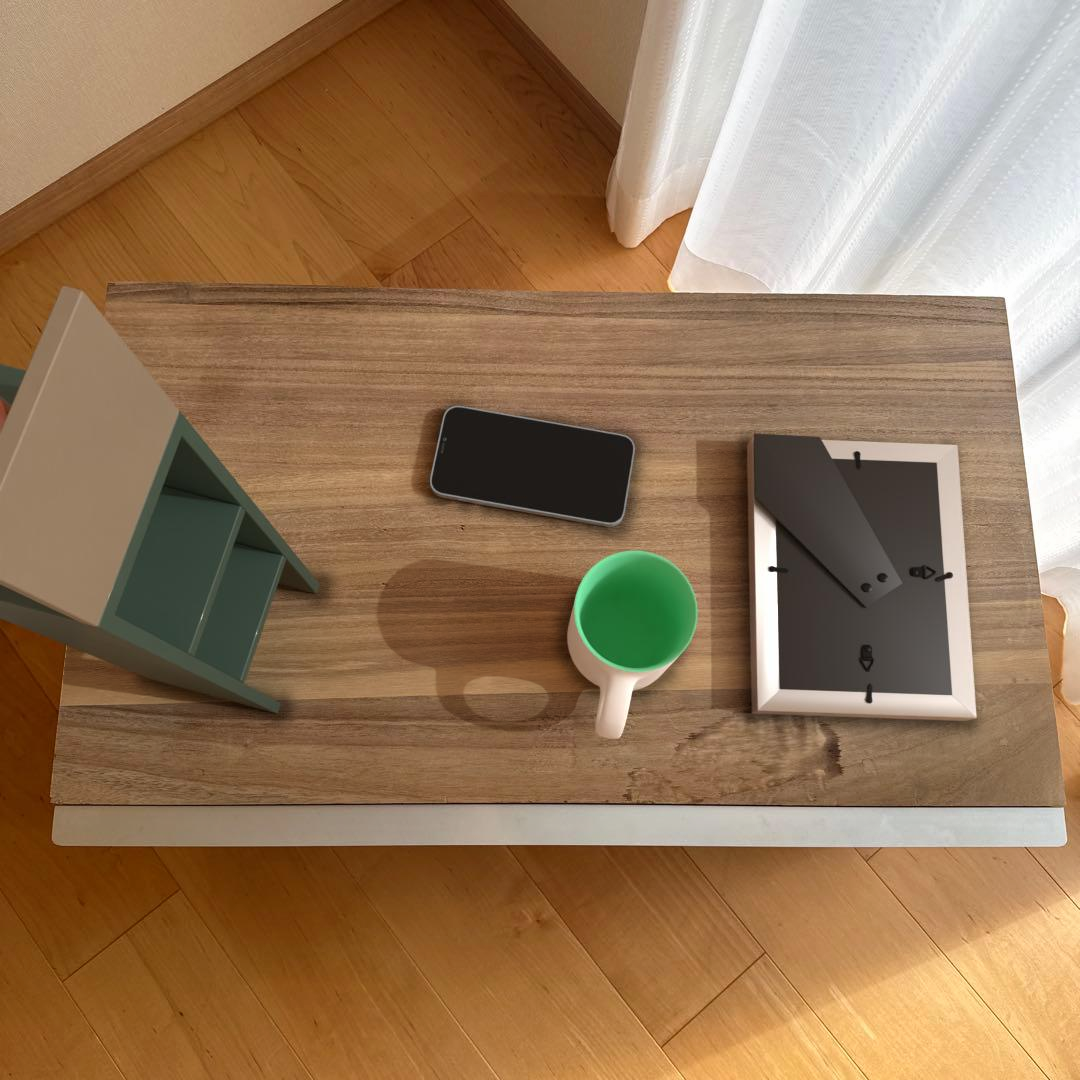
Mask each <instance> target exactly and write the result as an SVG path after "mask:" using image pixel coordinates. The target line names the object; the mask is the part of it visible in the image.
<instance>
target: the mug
mask: <svg viewBox="0 0 1080 1080" xmlns="http://www.w3.org/2000/svg"><path fill="white" fill-rule="evenodd" d="M698 614H699V613H698V601H697V598H696V594H695V591H694V588H693V587H692V584H691V582H690V581H689V579H688V578H687V576H686V575H685V574H684V573H683V572H682V570H681V569H680V568H679V567H678V566H676V564H674V563H673V562H671V561H670V560H668V559H667V558H665V557H663V556H661V555H659V554H656V553H653V552H649V551H644V550H625V551H619V552H616V553H613V554H610V555H608V556H606V557H603V558H602V559H600V561H597V563H595V564H594V565H593V566H592V567H591V568H590V569H589V570H588V571H587V572H586V574H585V575H584V576H583V578H582V580H581V581H580V584H579V586H578V588H577V591H576V594H575V598H574V602H573V605H572V609H571V614H570V617H569V622H568V627H567V632H566V633H567V634H566V639H567V640H566V641H567V648H568V652H569V655H570V657H571V660H572V662H573V664H574V666H575V667H576V669H577V670H578V672H580V674H581V675H582V676H583V677H584V678H586V679H587V680H588V681H589V682H591V683H592V684H593V685H596V686H597V687H599V700H598V705H597V711H596V718H595V724H594V732H595V734H596V735H597V736H599V737H601V738H605V739H609V740H617V739H620V738H621V737H622V735H623V732H624V729H625V726H626V722H627V718H628V714H629V709H630V705H631V700H632V694H633V691H637V690H640V689H644V688H645V687H648V686H649V685H651V684H653V683H654V682H656V681H657V680H658V679H659V678H660V677H661V676H662V675H663V674H664V673H665V672H666V670H667V669H668V668H669V667H670V666H671V665H673V663H674V662H675V661H676V660H677V659H678V658H679V657H680V656H681V655H682V654H683V653H684V651H685V650H686V649H687V647H689V644H690V643H691V642H692V639H693V637H694V635H695V632H696V628H697V624H698Z"/></svg>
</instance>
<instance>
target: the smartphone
mask: <svg viewBox="0 0 1080 1080" xmlns="http://www.w3.org/2000/svg"><path fill="white" fill-rule="evenodd" d="M437 439H438V440H437V444H436V449H435V454H434V458H433V463H432V468H431V472H430V477H429V483H430V484H429V485H430V488H431V491H432V492H433V494H434V495H435V496H437V497H440V498H444V499H449V500H454V501H460V502H465V503H471V504H475V505H483V506H487V507H493V508H499V509H505V510H511V511H517V512H521V513H528V514H533V515H537V516H538V515H539V516H543V517H544V516H545V517H550V518H555V519H561V520H567V521H572V522H578V523H584V524H589V525H594V526H600V527H605V528H606V527H607V528H611V527H613V528H614V527H615V526H618V525H619V524H620V523H622V520H623V518H624V516H625V512H626V507H627V503H628V502H627V500H628V495H629V489H630V482H631V478H632V477H631V476H632V472H633V465H634V464H633V463H634V458H635V452H636V446H635V443H634V441H633V440H632V439H631V437H629V436H627V435H626V434H622V433H616V432H612V431H604V430H599V429H594V428H590V427H589V428H588V427H582V426H577V425H572V424H565V423H561V422H560V423H559V422H554V421H549V420H542V419H537V418H532V417H526V416H521V415H514V414H509V413H503V412H497V411H492V410H487V409H486V410H485V409H480V408H475V407H469V406H464V405H454V406H451V407H449V408H448V409H446V411H445V412H444V414H443V417H442V421H441V426H440V429H439V435H438V438H437Z"/></svg>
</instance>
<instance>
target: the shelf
mask: <svg viewBox="0 0 1080 1080" xmlns="http://www.w3.org/2000/svg"><path fill="white" fill-rule="evenodd" d="M27 365H28V366H27V368H26V369H22V368H18V367H14V366H10V365H6V364H2V363H0V395H1V396H2V397H3V398H5V399H6V400H7V401H8V402H9V403H11V404H12V406H11V408H10V410H9V413H8V415H7V417H6V420H5V422H4V425H3V427H2V429H1V432H0V619H1V620H4V621H6V622H9V623H11V624H13V625H16V626H18V627H21V628H23V629H26V630H29V631H31V632H32V633H36V634H38V635H40V636H43V637H46V638H48V639H50V640H53V641H55V642H58V643H60V644H63V645H64V646H67V647H69V648H72V649H75V650H77V651H79V652H82V653H83V654H87V655H90V656H92V657H94V658H97V659H99V660H101V661H103V662H107V663H109V664H112V665H114V666H117V667H118V668H121V669H124V670H126V671H129V672H131V673H134V674H136V675H139V676H141V677H143V678H146V679H148V680H152V681H156V682H160V683H163V684H167V685H170V686H174V687H177V688H182V689H185V690H188V691H192V692H196V693H200V694H203V695H208V696H211V697H214V698H218V699H222V700H225V701H229V702H232V703H235V704H240V705H244V706H246V707H247V706H248V707H251V708H254V709H259V710H262V711H265V712H270V713H271V714H272V713H273V714H276V715H277V714H279V711H280V708H281V705H282V703H281V702H280V701H277V700H275V699H274V698H272V697H270V696H268V695H266V694H264V693H262V692H260V691H259V690H257V689H255V688H253V687H252V686H249V685H248V684H245V683H246V680H247V677H248V674H249V671H250V668H251V665H252V662H253V659H254V656H255V653H256V651H257V648H258V645H259V642H260V639H261V635H262V633H263V630H264V627H265V624H266V621H267V618H268V616H269V612H270V609H271V606H272V603H273V600H274V597H275V594H276V591H277V588H278V585H282V586H286V587H289V588H292V589H293V588H294V589H297V590H300V591H304V592H308V593H310V594H311V593H313V594H318V592H319V589H320V586H321V584H320V582H319V581H318V580H317V579H316V578H315V576H314V574H312V572H310V570H309V569H308V568H307V566H306V565H305V564H304V562H302V560H301V559H300V558H299V556H298V555H297V554H296V553H295V552H294V551H293V549H292V548H291V547H290V545H289V544H288V543H287V542H286V540H285V539H284V537H282V535H281V534H280V532H278V531H277V529H276V528H275V527H274V526H273V524H272V523H271V521H269V519H268V517H266V515H265V514H264V513H263V512H262V511H261V509H260V508H259V506H257V505H256V503H255V502H254V501H253V499H252V498H251V497H250V496H249V495H248V493H247V492H246V491H245V490H244V488H243V487H242V486H241V485H240V483H239V482H238V481H237V480H236V478H235V477H234V476H233V475H232V473H231V472H230V471H229V470H228V469H227V467H226V466H225V465H224V463H222V461H221V460H220V459H219V457H218V456H217V455H216V454H215V452H214V451H213V450H212V448H211V447H210V446H209V445H208V443H206V441H205V440H204V439H203V437H202V436H201V435H200V434H199V432H198V431H197V430H196V429H195V427H194V426H193V425H192V424H191V422H190V421H189V420H188V419H187V418H186V417H185V415H184V414H183V413H182V412H181V411H180V409H179V408H178V406H176V404H175V403H174V402H173V400H172V399H171V398H170V396H169V395H168V394H167V393H166V392H165V391H164V389H163V388H162V387H161V385H160V384H159V383H158V382H157V381H156V379H155V378H154V376H152V374H151V373H150V372H149V370H148V369H146V367H145V365H144V364H142V362H141V361H140V360H139V358H138V357H137V356H136V355H135V353H134V352H133V351H132V349H130V348H129V346H128V345H127V344H126V342H125V341H124V340H123V338H121V336H120V335H119V333H118V332H117V331H116V330H115V328H114V327H113V326H112V325H111V324H110V323H109V321H108V320H107V319H106V318H105V316H104V315H103V314H102V312H101V311H100V310H99V309H98V308H97V306H96V305H95V304H94V302H92V300H91V299H90V298H89V296H88V295H87V293H85V292H84V291H83V290H81V289H77V288H74V287H71V286H70V287H69V286H67V285H66V286H65V285H62V286H61V287H60V289H59V292H58V294H57V296H56V299H55V302H54V304H53V307H52V308H51V311H50V313H49V316H48V318H47V320H46V323H45V325H44V327H43V330H42V332H41V335H40V337H39V340H38V342H37V344H36V346H35V349H34V351H33V354H32V356H31V359H30V361H29V363H28V364H27Z"/></svg>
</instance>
